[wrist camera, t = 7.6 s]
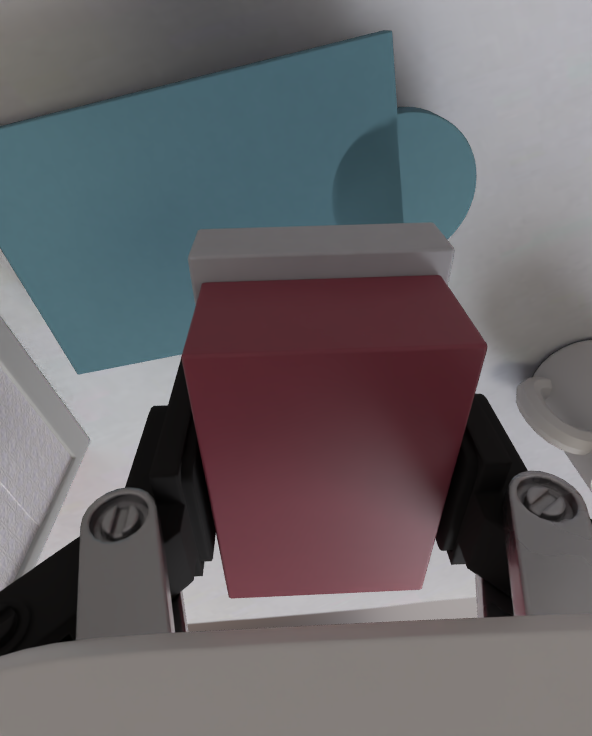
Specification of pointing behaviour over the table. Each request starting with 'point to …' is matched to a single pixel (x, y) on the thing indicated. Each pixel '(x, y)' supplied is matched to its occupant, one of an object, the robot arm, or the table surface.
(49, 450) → the red-striped rounded block
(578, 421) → the cup
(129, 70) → the table surface
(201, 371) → the maroon block on base
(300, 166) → the board
